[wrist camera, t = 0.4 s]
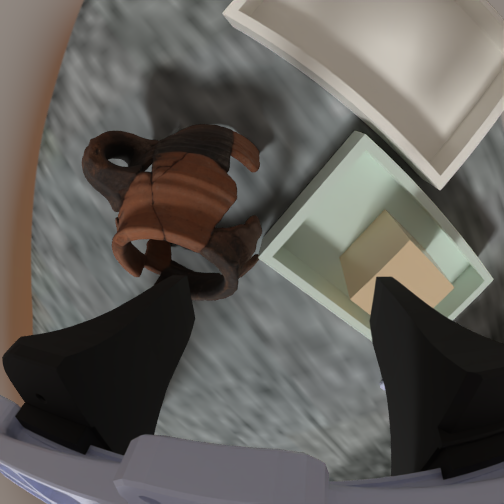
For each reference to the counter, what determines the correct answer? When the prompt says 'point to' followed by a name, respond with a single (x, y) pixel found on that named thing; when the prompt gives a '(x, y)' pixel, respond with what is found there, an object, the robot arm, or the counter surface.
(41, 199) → the counter surface
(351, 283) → the sandstone block
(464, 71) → the cream bin
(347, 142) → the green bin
